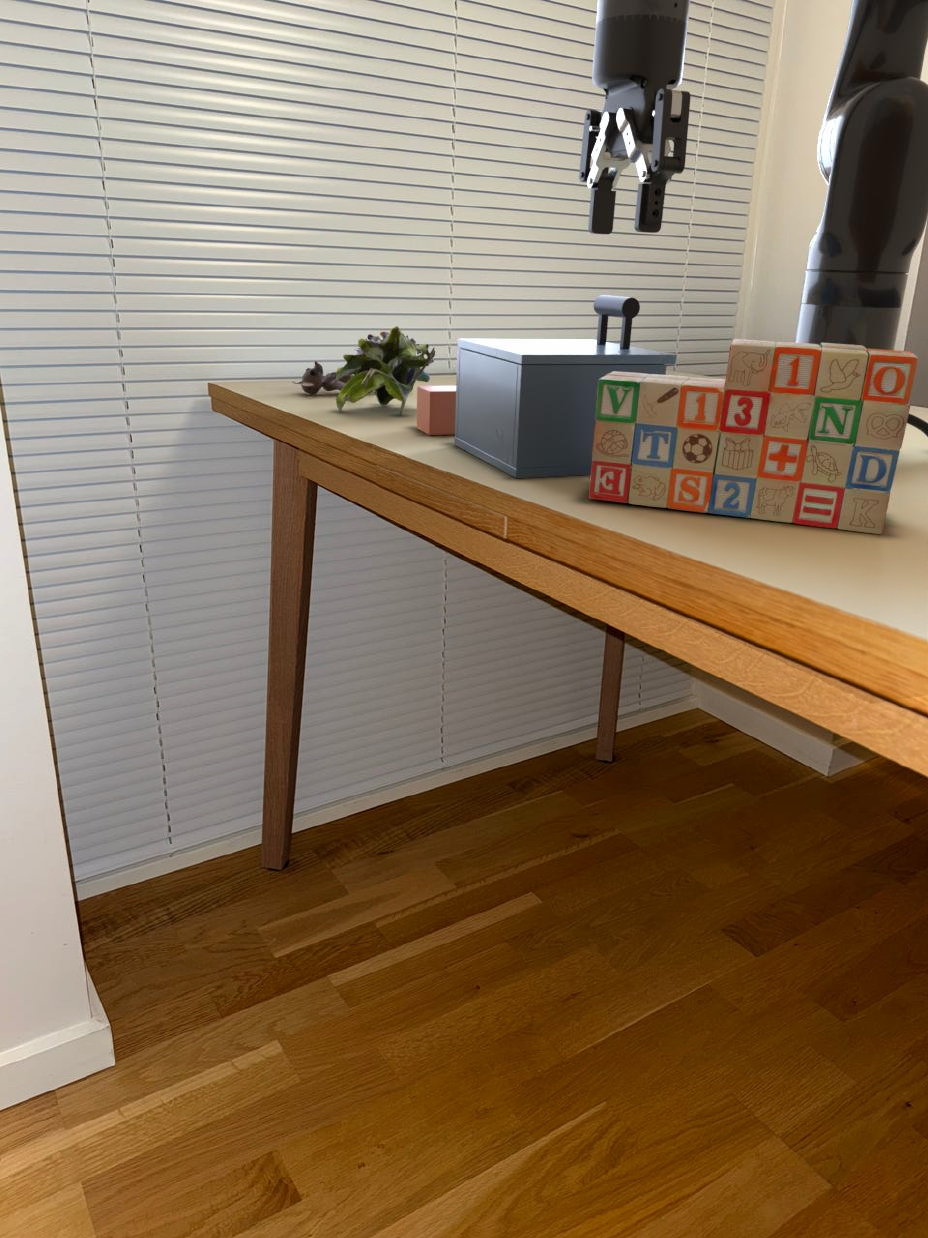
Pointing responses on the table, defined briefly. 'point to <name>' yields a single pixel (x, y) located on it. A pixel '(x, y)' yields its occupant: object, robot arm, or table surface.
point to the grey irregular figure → (321, 380)
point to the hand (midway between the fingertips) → (622, 233)
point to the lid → (577, 342)
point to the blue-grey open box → (530, 413)
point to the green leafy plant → (384, 368)
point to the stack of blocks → (760, 435)
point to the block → (436, 409)
